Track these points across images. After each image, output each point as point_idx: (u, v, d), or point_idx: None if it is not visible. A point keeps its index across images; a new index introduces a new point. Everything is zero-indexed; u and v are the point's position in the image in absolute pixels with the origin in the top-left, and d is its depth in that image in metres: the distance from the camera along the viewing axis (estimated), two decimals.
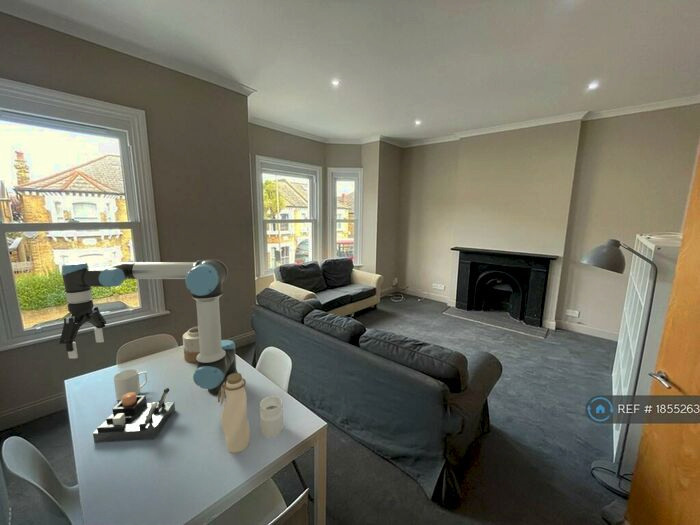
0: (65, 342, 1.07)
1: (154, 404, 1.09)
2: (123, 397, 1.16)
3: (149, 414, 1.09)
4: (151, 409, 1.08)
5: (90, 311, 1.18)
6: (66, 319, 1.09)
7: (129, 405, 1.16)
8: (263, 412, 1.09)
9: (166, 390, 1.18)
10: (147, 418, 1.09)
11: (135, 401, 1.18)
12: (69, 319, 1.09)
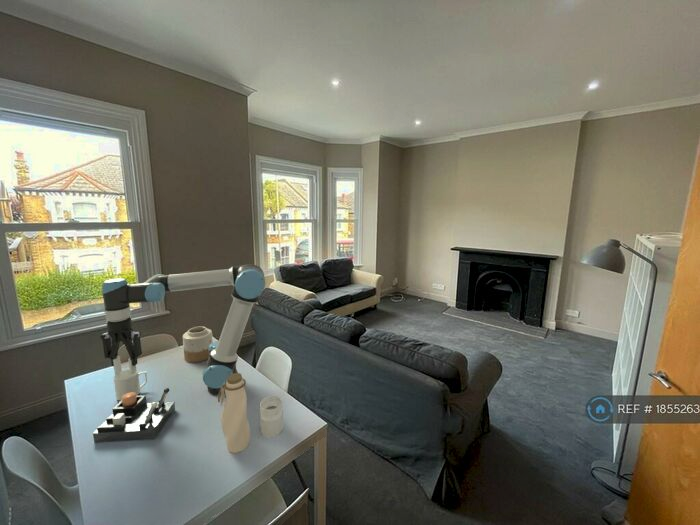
0: None
1: (154, 404, 1.09)
2: (123, 397, 1.16)
3: (149, 414, 1.09)
4: (151, 409, 1.08)
5: (126, 332, 1.11)
6: None
7: (129, 405, 1.16)
8: (263, 412, 1.09)
9: (166, 390, 1.18)
10: (147, 418, 1.09)
11: (135, 401, 1.18)
12: None
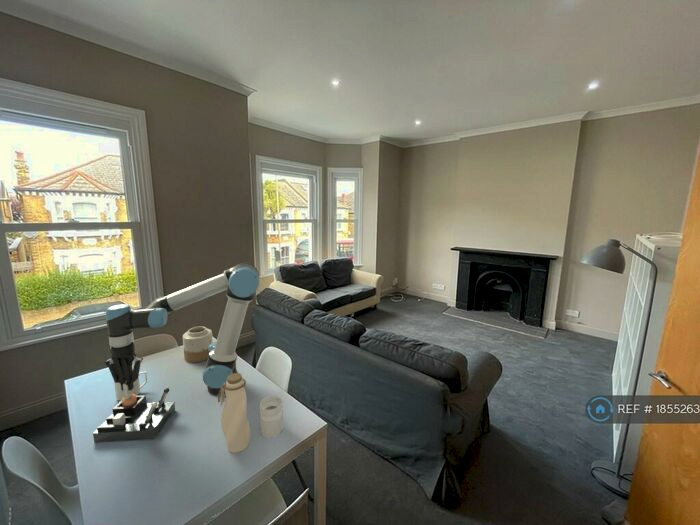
0: None
1: (154, 404, 1.09)
2: (123, 399, 1.16)
3: (149, 414, 1.09)
4: (151, 409, 1.08)
5: (129, 357, 1.13)
6: None
7: None
8: (263, 412, 1.09)
9: (166, 390, 1.18)
10: (147, 418, 1.09)
11: (135, 403, 1.18)
12: None
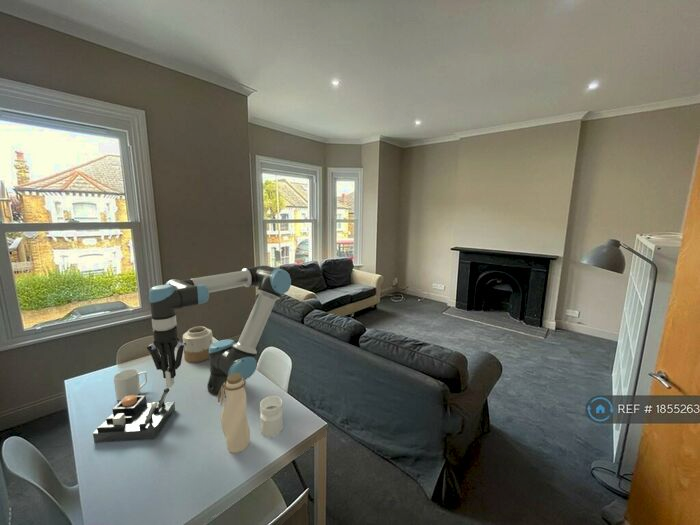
0: None
1: (154, 404, 1.09)
2: (123, 400, 1.16)
3: (149, 414, 1.09)
4: (151, 409, 1.08)
5: (173, 342, 1.05)
6: None
7: None
8: (263, 412, 1.09)
9: (166, 390, 1.18)
10: (147, 418, 1.09)
11: None
12: None
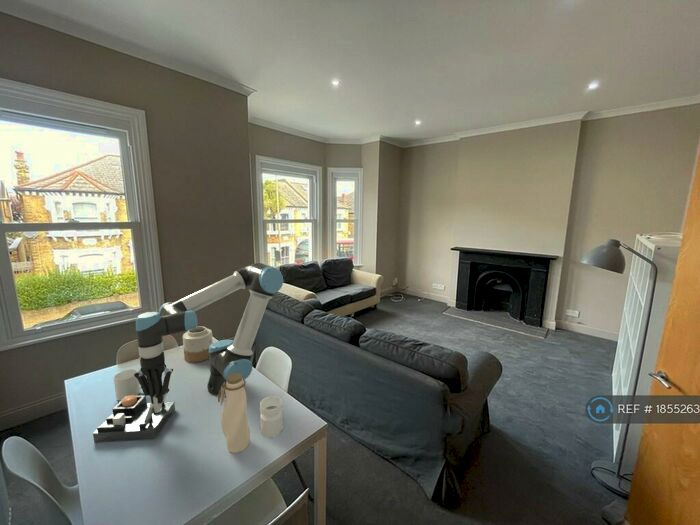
0: None
1: (153, 404, 1.09)
2: (123, 400, 1.16)
3: (148, 414, 1.09)
4: (150, 409, 1.08)
5: (160, 368, 1.06)
6: None
7: None
8: (263, 412, 1.09)
9: None
10: (146, 418, 1.09)
11: None
12: None
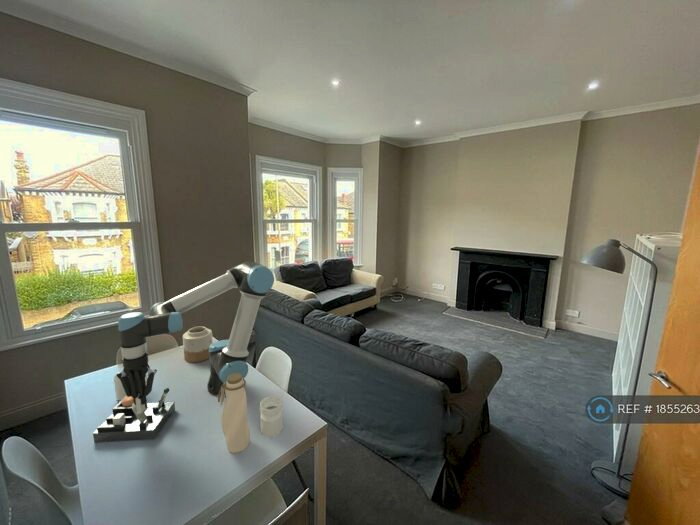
0: None
1: (133, 404, 1.08)
2: (123, 400, 1.16)
3: (137, 414, 1.08)
4: (133, 409, 1.08)
5: (143, 369, 1.05)
6: None
7: None
8: (263, 412, 1.09)
9: (166, 390, 1.18)
10: (139, 418, 1.08)
11: None
12: None
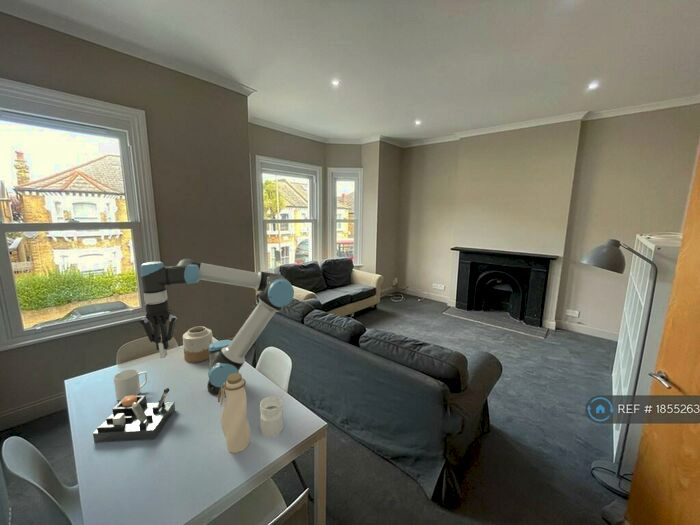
0: None
1: (133, 404, 1.08)
2: (123, 400, 1.16)
3: (137, 414, 1.08)
4: (133, 409, 1.08)
5: (165, 314, 1.12)
6: None
7: None
8: (263, 412, 1.09)
9: (166, 390, 1.18)
10: (139, 418, 1.08)
11: None
12: None
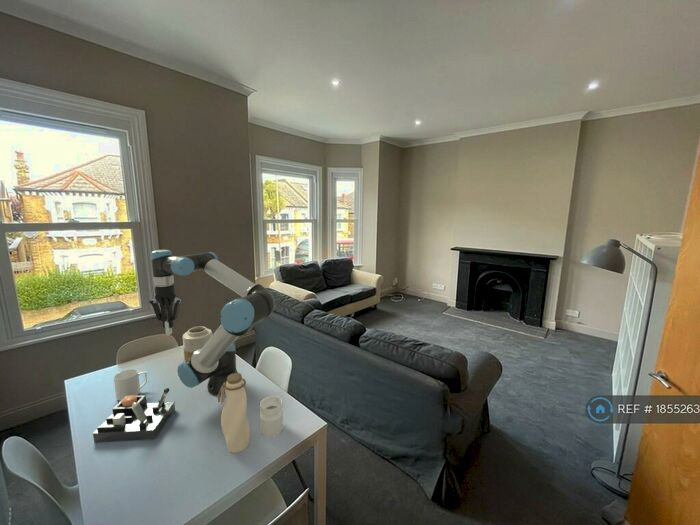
0: None
1: (133, 404, 1.08)
2: (123, 400, 1.16)
3: (137, 414, 1.08)
4: (133, 409, 1.08)
5: (171, 297, 1.27)
6: None
7: None
8: (263, 412, 1.09)
9: (166, 390, 1.18)
10: (139, 418, 1.08)
11: None
12: None
